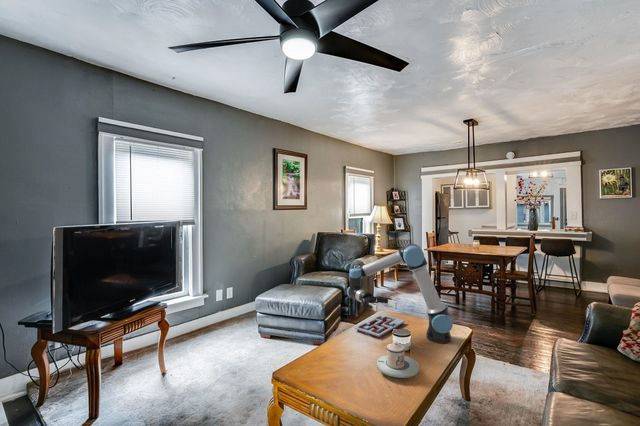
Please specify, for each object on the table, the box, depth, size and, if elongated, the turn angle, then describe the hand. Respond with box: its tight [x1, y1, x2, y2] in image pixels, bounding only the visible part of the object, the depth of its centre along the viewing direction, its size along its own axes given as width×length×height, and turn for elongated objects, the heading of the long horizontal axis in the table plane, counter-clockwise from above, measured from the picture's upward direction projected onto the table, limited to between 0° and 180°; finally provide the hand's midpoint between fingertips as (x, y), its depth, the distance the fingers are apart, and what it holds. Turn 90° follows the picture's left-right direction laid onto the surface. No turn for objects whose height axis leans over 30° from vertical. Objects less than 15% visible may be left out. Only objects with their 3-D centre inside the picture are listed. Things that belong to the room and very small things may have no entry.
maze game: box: [354, 314, 406, 339], centre depth 218 cm, size 35×20×3 cm, turn 137°
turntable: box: [376, 354, 420, 379], centre depth 159 cm, size 21×21×2 cm
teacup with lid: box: [386, 341, 405, 369], centre depth 159 cm, size 12×9×12 cm
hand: (386, 306), depth 171 cm, fingers open, 13 cm apart
